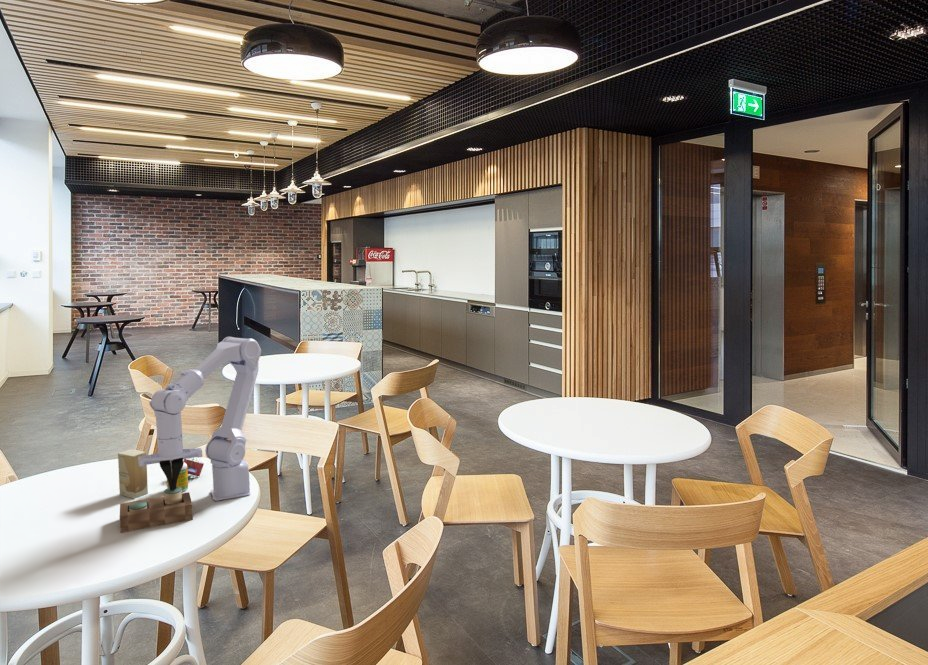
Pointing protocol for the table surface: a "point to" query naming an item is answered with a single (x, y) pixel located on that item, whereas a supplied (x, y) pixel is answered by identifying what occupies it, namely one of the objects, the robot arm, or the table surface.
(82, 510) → the table surface
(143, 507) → the peg
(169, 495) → the peg
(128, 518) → the walnut block
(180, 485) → the supplement bottle
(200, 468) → the geometric puzzle
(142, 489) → the skincare box
